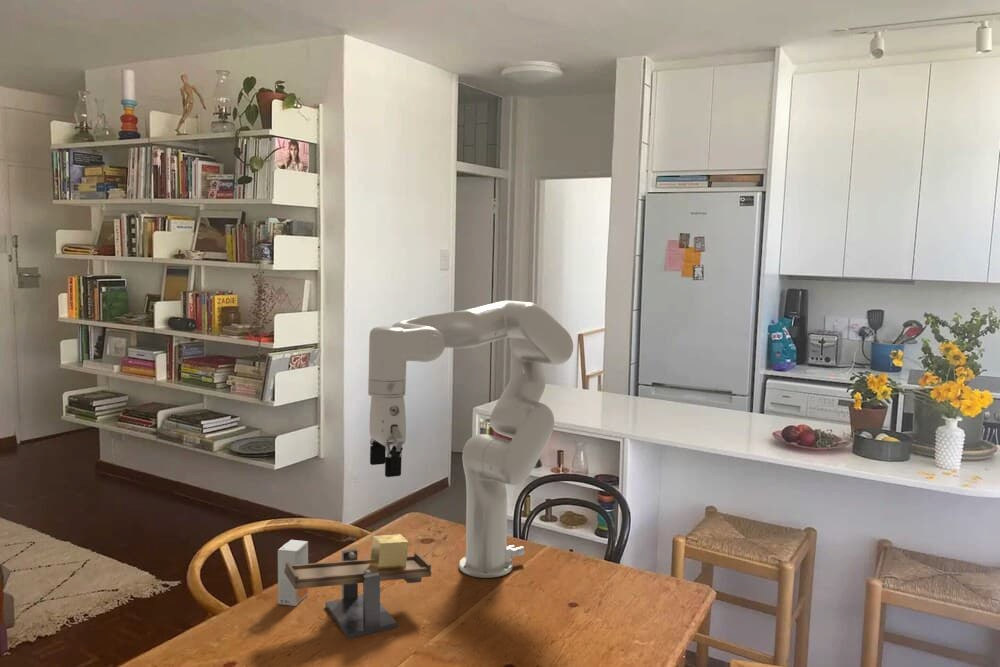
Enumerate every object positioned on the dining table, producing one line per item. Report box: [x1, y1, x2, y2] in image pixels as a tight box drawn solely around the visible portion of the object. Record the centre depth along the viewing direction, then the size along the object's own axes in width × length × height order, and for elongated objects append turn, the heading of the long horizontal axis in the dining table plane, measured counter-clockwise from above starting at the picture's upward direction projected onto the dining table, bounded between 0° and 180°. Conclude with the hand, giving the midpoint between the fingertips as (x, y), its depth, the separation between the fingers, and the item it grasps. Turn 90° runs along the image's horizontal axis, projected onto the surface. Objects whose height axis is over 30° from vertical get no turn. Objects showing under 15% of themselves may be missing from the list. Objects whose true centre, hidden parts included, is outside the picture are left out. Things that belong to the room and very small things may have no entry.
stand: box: [325, 548, 398, 640], centre depth 158 cm, size 10×15×12 cm, turn 29°
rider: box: [370, 533, 409, 571], centre depth 160 cm, size 6×5×6 cm
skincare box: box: [277, 539, 309, 607], centre depth 165 cm, size 6×4×12 cm
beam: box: [284, 552, 432, 589], centre depth 157 cm, size 28×11×4 cm, turn 119°
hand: (385, 469), depth 160 cm, fingers open, 9 cm apart
